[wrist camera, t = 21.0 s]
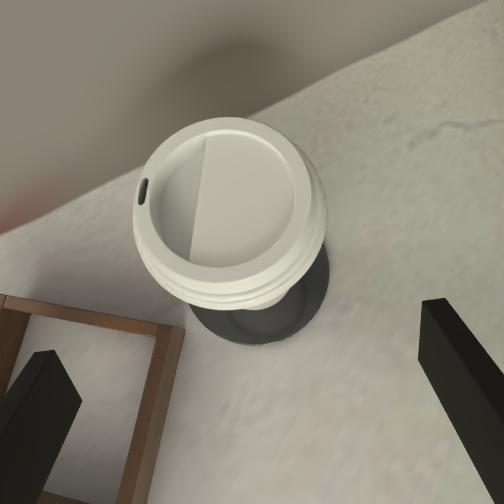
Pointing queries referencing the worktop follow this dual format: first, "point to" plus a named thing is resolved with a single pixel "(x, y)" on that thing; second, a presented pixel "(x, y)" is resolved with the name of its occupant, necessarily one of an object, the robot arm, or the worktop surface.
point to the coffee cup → (229, 214)
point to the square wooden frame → (154, 395)
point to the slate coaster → (272, 311)
